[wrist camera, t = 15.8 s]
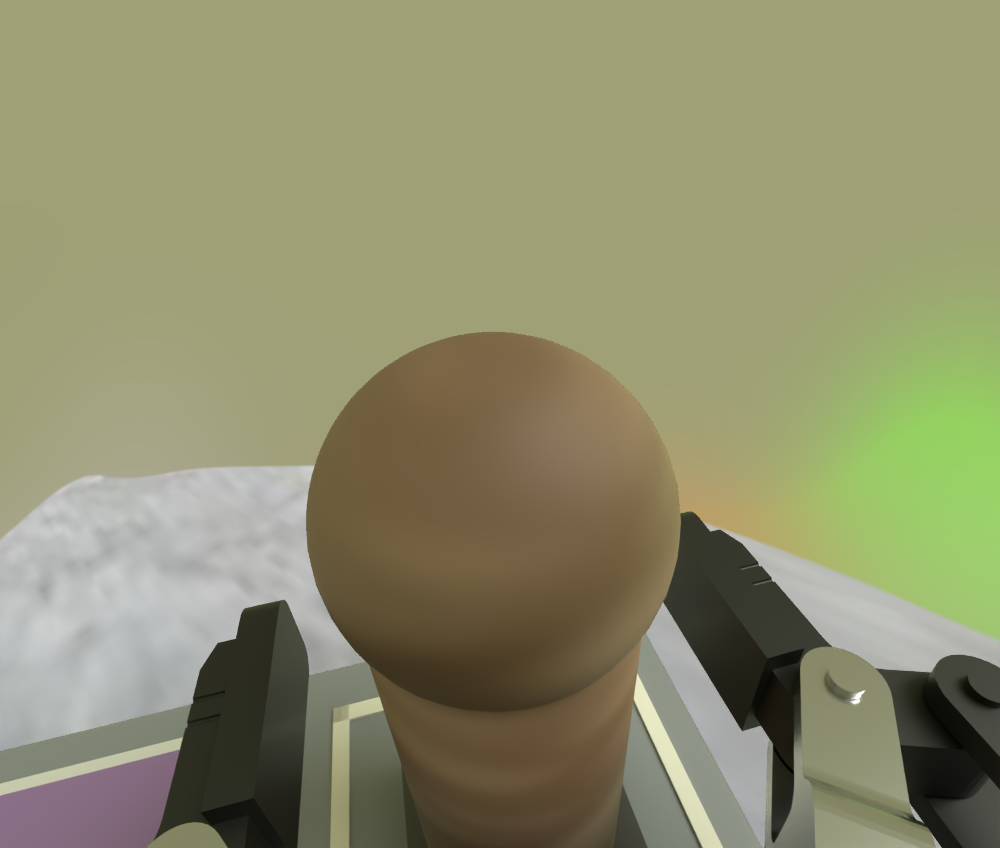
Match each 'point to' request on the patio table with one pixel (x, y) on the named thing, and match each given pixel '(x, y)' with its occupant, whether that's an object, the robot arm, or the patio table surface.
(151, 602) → the patio table surface
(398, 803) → the stamping board
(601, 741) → the stamp
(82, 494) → the patio table surface
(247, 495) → the patio table surface
